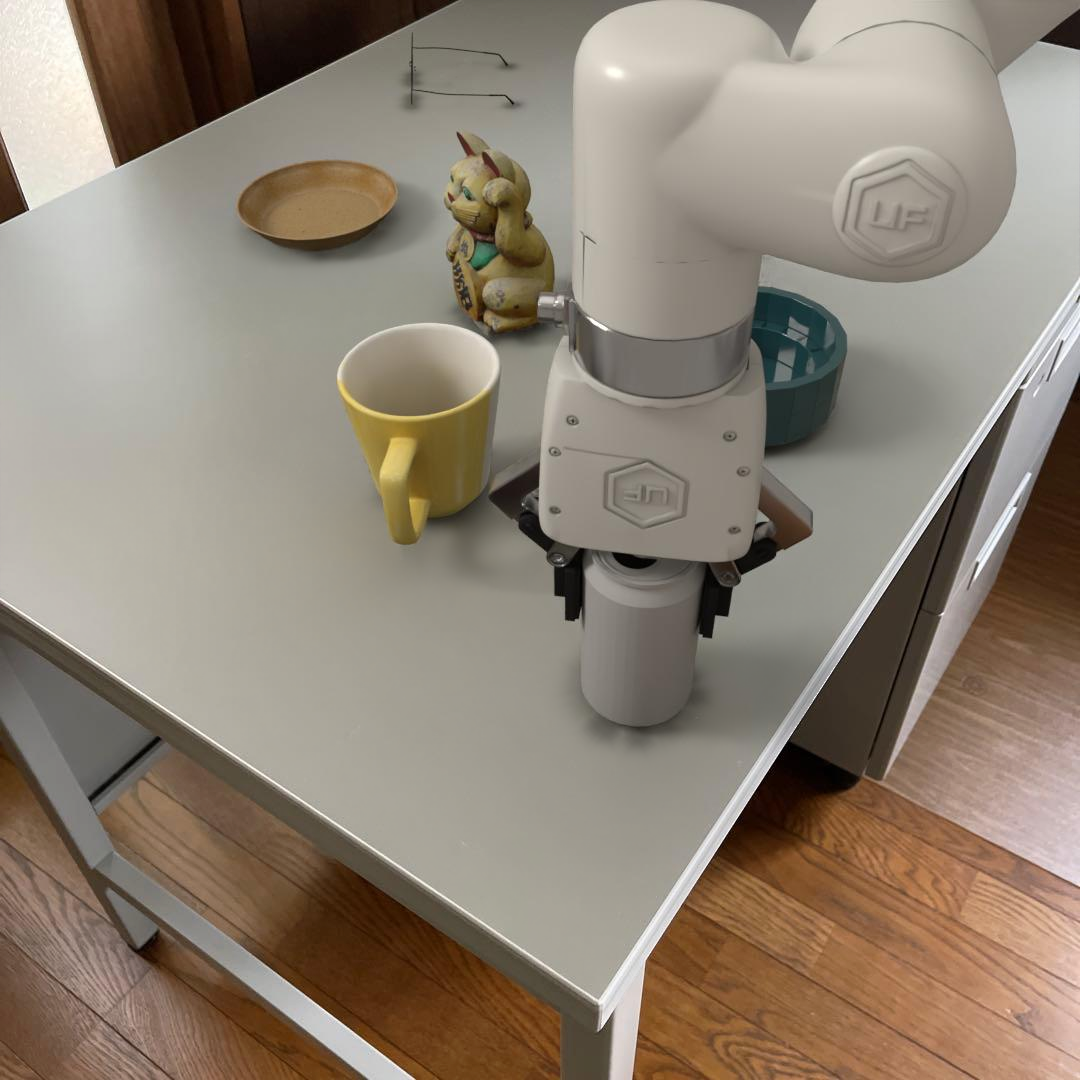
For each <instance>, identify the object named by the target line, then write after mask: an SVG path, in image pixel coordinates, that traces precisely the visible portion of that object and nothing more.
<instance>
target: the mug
mask: <svg viewBox="0 0 1080 1080" xmlns="http://www.w3.org/2000/svg"><path fill="white" fill-rule="evenodd" d="M501 377H502V361H501V357H500V355H499V352H498V351H497V349H496V348H495V346H494V345H493V344H492V343H491V342H490V341H489V340H487V339H486V338H485V337H484V336H482V335H481V334H480V333H479V334H478V333H477V332H475V331H472V330H471V329H467V328H465V327H462V326H458V325H454V324H448V323H440V322H439V323H438V322H419V323H418V322H417V323H408V324H403V325H398V326H394V327H391V328H386V329H384V330H381V331H379V332H376V333H373V334H372V335H370V336H368V337H366V338H365V339H363V340H361V341H359V343H357V344H356V345H355V346H354V347H353V348H351V349H350V350H349V351H348V352H347V353H346V355H345V356H344V358H343V359H342V361H341V363H340V365H339V366H338V369H337V374H336V383H337V389H338V391H339V394H340V397H341V401H342V403H343V406H344V408H345V411H346V414H347V416H348V418H349V421H350V424H351V426H352V429H353V432H354V433H355V436H356V438H357V442H358V443H359V447H360V449H361V451H362V454H363V457H364V459H365V462H366V464H367V467H368V469H369V472H370V475H371V479H372V481H373V485H374V486H375V488H376V490H377V492H378V494H379V495H380V497H381V499H382V505H383V510H384V515H385V519H386V524H387V528H388V532H389V536H390V537H391V540H392V541H393V542H394V543H395V544H397V545H402V546H410V545H415V544H417V542H419V540H420V538H421V536H422V533H423V530H424V527H425V525H426V523H427V519H435V518H442V517H446V516H450V515H453V514H456V513H457V512H459V511H461V510H462V509H464V508H465V507H466V506H468V505H469V504H470V503H471V502H473V501H474V500H476V498H478V496H480V495H481V493H482V492H483V491H484V489H485V487H486V486H487V484H488V481H489V478H490V474H491V473H490V472H491V463H492V462H491V461H492V453H493V445H494V436H495V429H496V428H495V426H496V419H497V411H498V404H499V395H500V387H501Z"/></svg>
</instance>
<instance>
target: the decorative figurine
mask: <svg viewBox="0 0 1080 1080" xmlns="http://www.w3.org/2000/svg"><path fill="white" fill-rule="evenodd" d="M455 133H456V137H457V139H458V141H459V143H460V145H461V147H462V149H463V151H464V154H465V155H466V156H465V157H463V158H462V159H460V160H459V161H457V162H456V163H455V164H454V165H453V166H452V167H451V169H450V176H449V177H450V181H449V182H448V183H447V186H446V187H445V191H444V194H443V204H444V206H445V209H447V210H448V211H450V213H451V216H452V218H453V219H454V220H455V221H456V222H457V223H458V224H457V225H456V226H455V227H454V228H453V230H452V231H451V233H450V234H449V236H448V238H447V242H446V248H445V256H446V258H447V261H448V262H449V263H451V264H452V265H451V266H452V267H451V269H452V280H453V281H452V282H453V288H454V293H455V296H456V299H457V302H458V305H459V306H460V308H461V309H462V310H463V311H464V313H465V314H466V315H467V316H468V319H469V320H472V322H473V323H474V324H475V325H476V327H477V328H478V329H479V330H480V331H481V332H482V333H483V334H484V335H485V337H488V338H492V337H496V336H498V335H503V334H505V333H510V332H513V333H519V332H522V331H525V330H530V329H532V328H533V329H534V328H536V327H541V323H539V322H538V317H537V311H538V300H539V295H540V292H541V291H546V292H554V287H555V281H556V280H555V279H556V277H555V276H556V274H555V273H556V272H555V262H554V261H555V260H554V256H553V253H552V250H551V247H550V244H549V243H548V241H547V239H546V238H545V236H544V234H543V233H542V231H541V230H540V229H539V228H538V227H537V225H535V224H534V223H533V221H534V218H533V216H532V213H531V212H529V211H527V209H528V206H529V204H530V202H531V198H532V187H531V183H530V178H529V176H528V175H527V173H526V171H525V169H524V168H523V167H522V166H521V165H520V164H519V162H517V161H516V160H515V159H512V158H511V157H508V156H509V155H507V154H505V153H503V152H502V151H500V150H497V149H491V148H490V146H489V145H488V144H487V143H486V142H485V141H484V140H483V138H481V137H479V136H477V135H476V134H474V133H472V132H469V131H466V130H458V131H456V132H455Z"/></svg>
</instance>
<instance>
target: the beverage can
mask: <svg viewBox="0 0 1080 1080" xmlns="http://www.w3.org/2000/svg"><path fill="white" fill-rule="evenodd" d="M706 571H707V562H701V561H690V560H681V559H671V558H662V557H653V556H644V555H635V554H627V553H619V552H610V551H602V550H594V549H587V548H585V549H584V553H583V558H582V606H581V611H580V616H581V617H580V686H581V687H580V688H581V690H582V693H583V696H584V698H585V700H586V701H587V703H588V704H589V705H590V707H591V708H592V709H593V710H594V711H595V712H596V713H598V714H599V715H600V716H602V717H603V718H605V719H607V720H609V721H610V722H613V723H616V724H619V725H622V726H629V727H648V726H649V727H650V726H654V725H658V724H661V723H663V722H666V721H668V720H670V719H672V718H673V717H675V716H676V715H678V713H680V711H681V710H682V709H683V708H684V707H685V706H686V704H687V702H688V700H689V698H690V696H691V693H692V688H693V681H694V673H695V667H696V666H695V665H696V657H697V649H698V644H699V643H698V641H699V636H700V634H699V627H700V618H701V610H702V602H703V595H704V587H705V579H706Z"/></svg>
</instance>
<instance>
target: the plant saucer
mask: <svg viewBox="0 0 1080 1080" xmlns="http://www.w3.org/2000/svg"><path fill="white" fill-rule="evenodd" d="M398 198H399V188H398V184H397V182H396V180H395V179H394V178H393V176H391V175H390V174H389V173H387V172H386V171H384V170H382V169H381V168H379V167H377V166H375V165H371V164H368V163H365V162H362V161H361V162H360V161H356V160H349V159H348V160H347V159H334V158H333V159H315V160H306V161H301V162H296V163H292V164H287V165H284V166H281V167H278V168H275V169H273V170H270V171H267V172H266V173H264V174H262V175H259V176H258V177H257V178H254V180H252V181H251V182H250V183H248V184H247V185H246V186H245V187H244V188H243V189H242V190H241V192H240V193H239V195H238V197H237V199H236V202H235V212H236V214H237V217H238V218H239V220H240V221H241V222H242V224H244V225H245V227H247V228H248V229H250V230H251V231H252V232H253V233H255V234H257V235H258V236H259V237H260V238H261V237H262V238H263V239H265V240H266V241H268V242H271V243H273V244H275V245H277V246H280V247H283V248H284V249H285V248H286V249H289V250H294V251H301V252H321V251H331V250H334V249H338V248H342V247H346V246H350V245H352V244H355V243H357V242H359V241H361V240H362V239H364V238H366V237H367V236H368V235H370V234H371V233H372V232H374V231H375V230H376V229H377V228H379V226H380V225H381V224H382V223H383V222H384V220H385V219H386V218H387V217H388V216H389V214H390V213H391V211H392V210H393V208H394V207H395V205H396V203H397V201H398Z"/></svg>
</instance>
